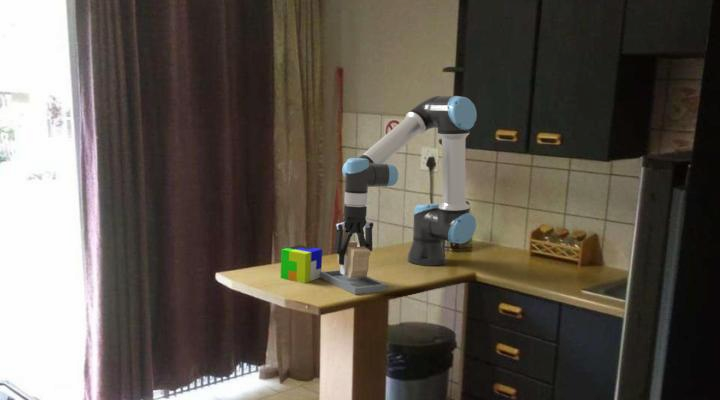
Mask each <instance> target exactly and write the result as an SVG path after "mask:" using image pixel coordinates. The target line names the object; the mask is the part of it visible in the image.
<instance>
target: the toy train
mask: <svg viewBox="0 0 720 400" xmlns="http://www.w3.org/2000/svg"><path fill="white" fill-rule="evenodd" d="M345 255H347V272H346V274H348V277H349V278H360V277H366V276H368V272H369V264H370V263H369V262H370V261H369V260H370V256H371V251H370V250H369V249H367V248H366V247H364V246H363V247H360V246H358V242H357V241H355V240H350V241H349V244H348V247H347V250H346V253H345ZM336 262H337V263H338V270H340V268H341V265H340V264H339V254H337V257H336Z"/></svg>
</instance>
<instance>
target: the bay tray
mask: <svg viewBox="0 0 720 400" xmlns="http://www.w3.org/2000/svg"><path fill="white" fill-rule="evenodd" d="M320 278H321V279H323V280H324V281H326V282H329V283H330V284H332V285H334V286H337V287H339V288H340V289H343V290H345V291H347V292H349V293H350V294H352V293H353V294H352V295H354V294H357V295H363V294H362V293H364V294H370V293H371V294H372V293H376V292H377V293H378V292H385V291H387V284H386V283H383V282H381V281H379V280H377V279H375V278H372V277H370V276H368V275H367V276H366V277H360V278H349V277H348V274H346V275H343V274H341V273H340V270H339V269H336V270H335V269H334V270H325V271H321V272H320ZM320 278H319V279H320Z"/></svg>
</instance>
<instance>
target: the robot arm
mask: <svg viewBox="0 0 720 400" xmlns="http://www.w3.org/2000/svg"><path fill="white" fill-rule="evenodd" d="M477 114H478V113H477V109H476V105H475V104H474V102H472V101H471V99H469V98H468V97H465V96H459V95H452V96H446V95H443V96H440V95H437V96H436V95H435V96H432V97H429V98H427V99H425V100H423V101H421V102H420V103H418V104H417V105H416V106H414V107H413V108H412V109H411V110H409V111H408V112H407V113H406V115H405V118H404V119H402V121H400V122H399V123H398V124H397V125H396V126H395V127H394V128H392V129H391V130H390V131H388V133H386V134H385V135H384V136H382V138H380V139H379V140H378V141H376V143H374V144H373V145H372V146H371V147H369V148H368V150H366V151H364V153H363V154H361V155H360V156H359V157H357V158H356V157H350V158H348V159H347V160H346V162H344V164H343V166H342V168H341V169H342V175H343V177H344V180H345V181H344V204H345V205H344V206H343V217H344V218H343V221H342V222H340V223H337V222H336V223H335V225H334V226H335V238H334V247H333V253H335V254H337V255H339V263H338V265H339V264H340V265H341V268H340V273H341V274H343V275H346V272H347V255H345V253H346V250H347V247H348V244H349V241H351V238H352V236H353V235H354V234H356V236H357V240H358V243H359V244H358V245H359V247H363V246H364V247H366V248H367V249H369V250H370V252H372V251H373V227H374V222H372V221H367V219H366V217H367V213H368V212H367V211H368V210H367V209H368V207H367V206H366V205H367V204H368V189H369V188H370V187H371V188H372V187H376V188H377V187H392V186H394V185H396V184H397V182H398V180H399V170H398V169H397V167H396V166H395V165H394V164H391V163H389V164H388V163H387V161H389V160H390V159H391V158H392V157H393V156H394V155H396V154H397V153H398V152H399V151H400V150H402V148H403V147H405V146H406V145H407V144H408V143H410V142H411V141H412V140H413V139H414V138H415V137H417V136H418V135H421V134H422V135H423V134H424V133H425V132H426V131H428V130H430V129H434V128H437V136H439V137H440V138H441V167H442V168H441V181H442V182H441V194H442V195H441V198H442V201H441V203H422V204H417V205H416V206H415V207H414V213H413V230H412V231H413V234H412V236H413V237H412V242H411V246H410V248H409V252H408V253H407V261H408V262H409V263H410V264H414V265H419V266H433V267H434V266H441V265H445V264H447V263H446V262H447V257H446V251H445V248H444V244H443V241H447V242H450V243H452V244H465V243H467V242H468V241H470V240H471V239H472V237H473V236H474V234H475V233H476V230H477V229H476V228H477V220H476V218H475V216H474V215H473V214H472V213H470V212H471V211H470V205H469V204H468V203H467V202H466V138H467V137H468V135H470V132H471V130H470V129H472V128H473V127H474V125H475V123H476V121H477V117H478V116H477ZM364 227H365V228H364ZM364 229H365V230H364Z"/></svg>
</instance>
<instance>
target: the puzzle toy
mask: <svg viewBox="0 0 720 400" xmlns="http://www.w3.org/2000/svg"><path fill="white" fill-rule="evenodd" d="M280 250H281V251H280V279H283V280H288V281H293V282H297V283H302V284H303V283H304V284H306V283H309V282H311V281H314V280H317V279H320V272H322V264H323V263H322V261H323V260H322V259H323V248H318V247H312V246H305V245H299V244H298V245H294V246H290V247H287V248H282V249H280Z"/></svg>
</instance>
